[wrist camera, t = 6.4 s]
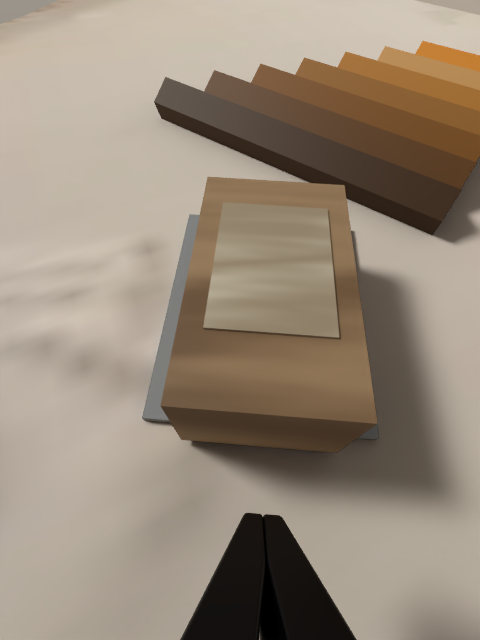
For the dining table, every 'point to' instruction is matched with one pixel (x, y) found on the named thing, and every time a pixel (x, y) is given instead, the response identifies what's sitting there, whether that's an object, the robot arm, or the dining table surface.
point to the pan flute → (352, 125)
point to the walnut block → (271, 322)
